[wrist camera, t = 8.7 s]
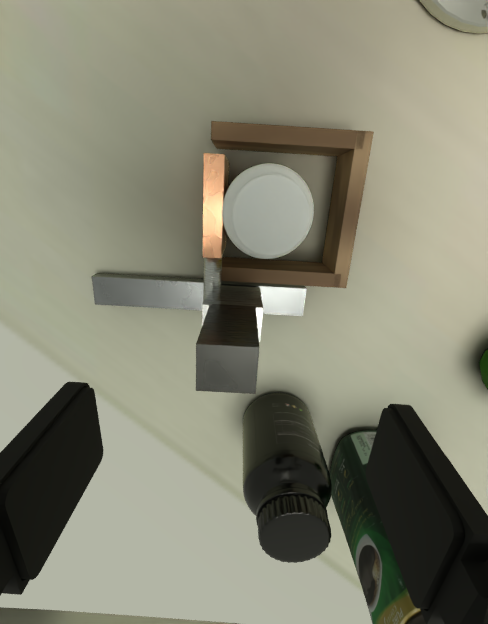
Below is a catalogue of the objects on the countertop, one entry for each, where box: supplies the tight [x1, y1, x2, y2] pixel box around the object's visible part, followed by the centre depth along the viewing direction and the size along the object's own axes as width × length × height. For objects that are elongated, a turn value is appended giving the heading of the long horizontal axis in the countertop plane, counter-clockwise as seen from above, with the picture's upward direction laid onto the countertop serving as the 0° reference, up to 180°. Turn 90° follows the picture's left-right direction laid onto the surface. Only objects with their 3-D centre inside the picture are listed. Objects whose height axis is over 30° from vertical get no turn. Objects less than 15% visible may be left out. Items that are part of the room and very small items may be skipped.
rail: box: [92, 273, 306, 316], centre depth 27 cm, size 2×18×1 cm, turn 87°
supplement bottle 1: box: [222, 163, 314, 259], centre depth 20 cm, size 5×5×10 cm
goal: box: [211, 121, 374, 288], centre depth 23 cm, size 10×10×4 cm
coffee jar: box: [330, 430, 426, 624], centre depth 25 cm, size 10×8×19 cm
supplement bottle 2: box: [243, 393, 332, 562], centre depth 26 cm, size 7×7×12 cm
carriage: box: [196, 153, 263, 394], centre depth 20 cm, size 12×4×12 cm, turn 177°
